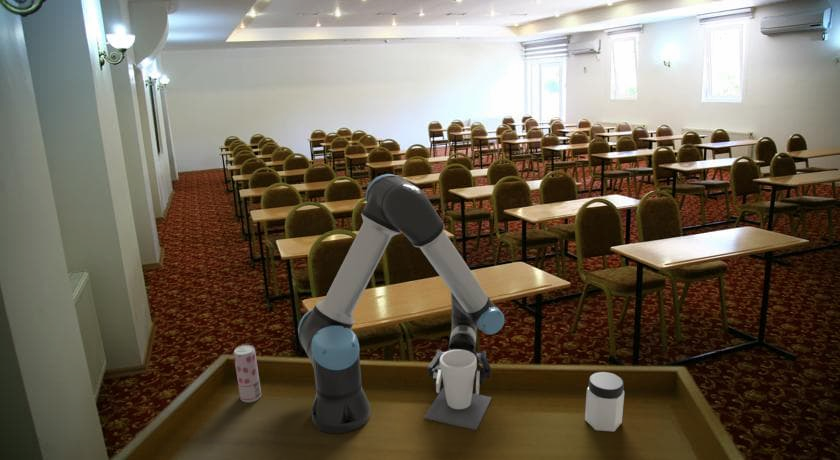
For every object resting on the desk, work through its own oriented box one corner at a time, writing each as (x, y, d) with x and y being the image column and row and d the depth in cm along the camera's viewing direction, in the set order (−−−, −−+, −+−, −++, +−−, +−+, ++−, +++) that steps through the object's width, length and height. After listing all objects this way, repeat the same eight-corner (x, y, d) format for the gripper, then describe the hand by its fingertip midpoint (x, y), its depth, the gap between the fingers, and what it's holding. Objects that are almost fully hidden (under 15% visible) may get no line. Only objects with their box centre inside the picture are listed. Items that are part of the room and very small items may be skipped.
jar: (628, 427, 151) (632, 386, 147) (600, 436, 149) (603, 394, 145) (605, 407, 159) (609, 367, 155) (579, 415, 157) (581, 374, 153)
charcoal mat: (424, 418, 157) (424, 416, 157) (442, 389, 169) (442, 387, 169) (476, 430, 152) (476, 428, 152) (491, 399, 164) (491, 397, 164)
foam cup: (474, 414, 155) (474, 370, 151) (438, 411, 157) (437, 367, 152) (478, 393, 164) (478, 350, 159) (444, 390, 166) (443, 348, 161)
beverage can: (240, 393, 171) (233, 346, 166) (261, 389, 172) (255, 342, 167) (240, 404, 166) (232, 356, 161) (261, 401, 167) (254, 353, 162)
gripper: (501, 356, 175) (501, 403, 154) (424, 354, 177) (414, 399, 156) (501, 333, 172) (501, 377, 151) (423, 331, 175) (413, 374, 154)
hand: (457, 388), depth 154 cm, fingers closed on foam cup, 9 cm apart
